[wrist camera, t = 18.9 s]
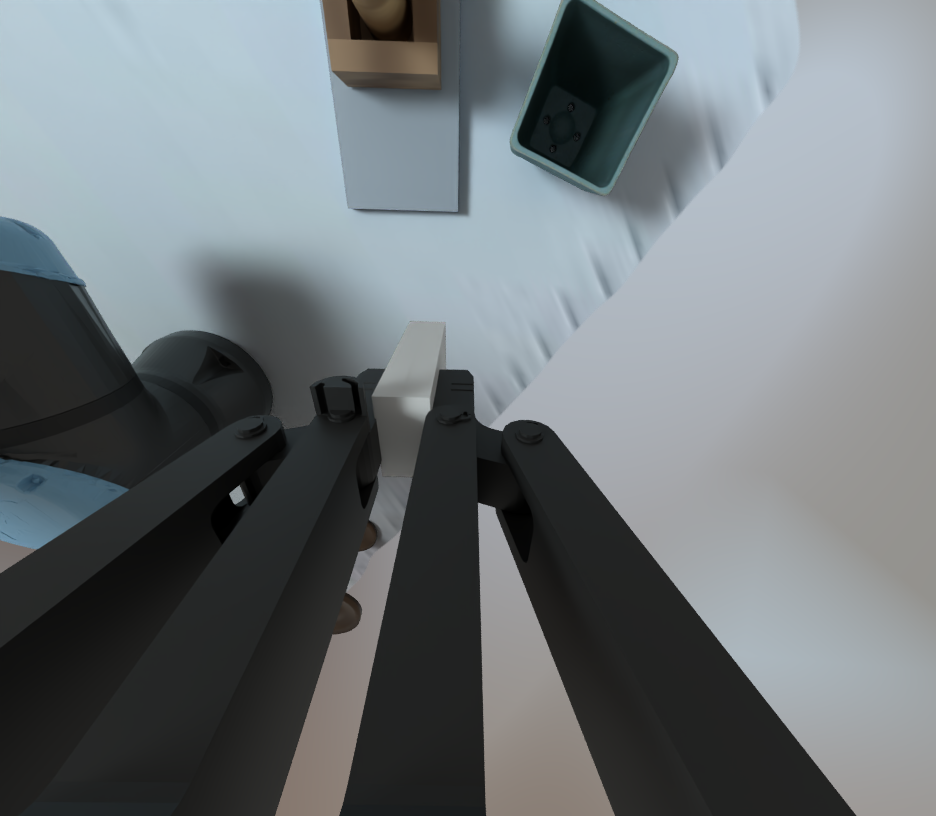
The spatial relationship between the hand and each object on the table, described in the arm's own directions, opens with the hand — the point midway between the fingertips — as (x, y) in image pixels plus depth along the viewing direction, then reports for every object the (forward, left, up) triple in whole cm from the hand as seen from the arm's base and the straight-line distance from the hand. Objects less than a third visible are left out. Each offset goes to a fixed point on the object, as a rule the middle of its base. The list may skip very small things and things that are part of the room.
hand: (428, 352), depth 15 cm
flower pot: (+10, +12, -27) cm, 31 cm away
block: (-5, +18, -25) cm, 31 cm away
